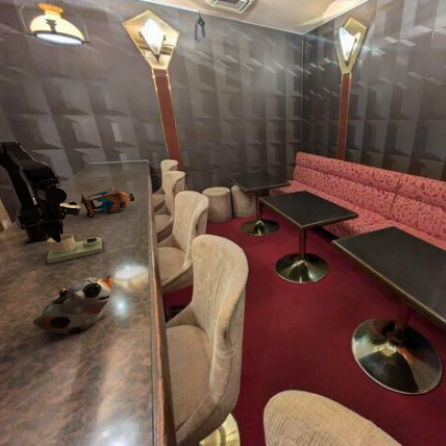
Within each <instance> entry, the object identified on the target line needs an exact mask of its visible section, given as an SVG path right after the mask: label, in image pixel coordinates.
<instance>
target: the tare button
mask: <svg viewBox="0 0 446 446" xmlns="http://www.w3.org/2000/svg"><path fill="white" fill-rule="evenodd" d="M96 238H97V237H96V235H91V236H88V237H86V240H87V242H88V243H90V242H95V241H97V239H96Z"/></svg>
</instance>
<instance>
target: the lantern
mask: <svg viewBox="0 0 446 446" xmlns="http://www.w3.org/2000/svg"><path fill="white" fill-rule="evenodd" d="M80 194H81V198H80V199H81V201H80V204H83V205H84V207H85V210H86V215H87V216H89V217H90V218H92V217H93V215H94V214H97V213H98V214H99V213H101V214H103V213H105V214H107V213H121V212H122V209H126V207H127V206H128V205H129V204H130V202H135V198H136V197H135V195H134V193H130V192H128V193H127V192H124V191H122V190H120V189H115V190H113V189H112V188H111V187H110V188H107V189H104V190H102V191H99V192H96V193H94V194H91V195H88V196H87V195H85V194H82V193H80ZM96 196H99V197H96ZM92 197H95V198H92ZM90 198H91V199H90ZM94 201H97V202H98V203H101V204H100V205H97V206H96V204H95V203H94Z"/></svg>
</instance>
